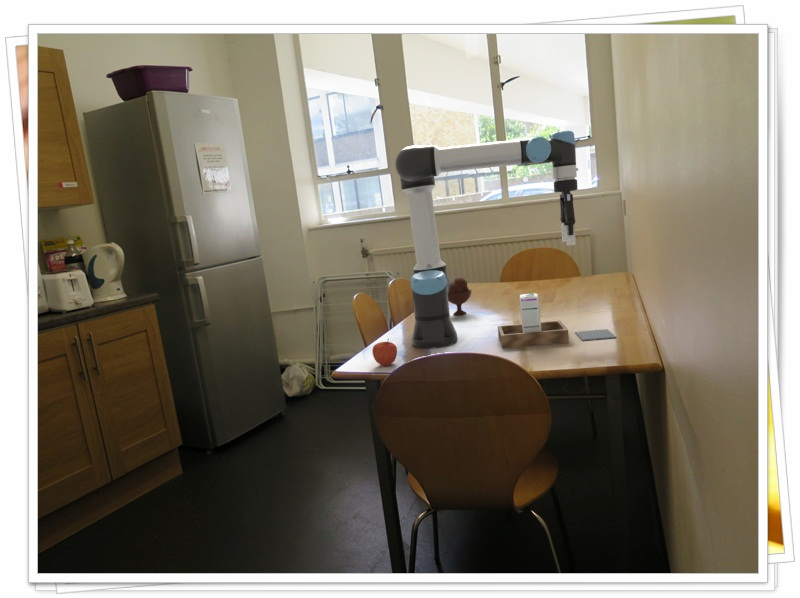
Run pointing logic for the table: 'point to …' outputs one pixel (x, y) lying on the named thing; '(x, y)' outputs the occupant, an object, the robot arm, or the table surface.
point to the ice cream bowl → (459, 294)
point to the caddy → (533, 335)
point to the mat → (595, 335)
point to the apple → (384, 353)
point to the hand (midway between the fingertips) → (568, 243)
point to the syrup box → (530, 313)
